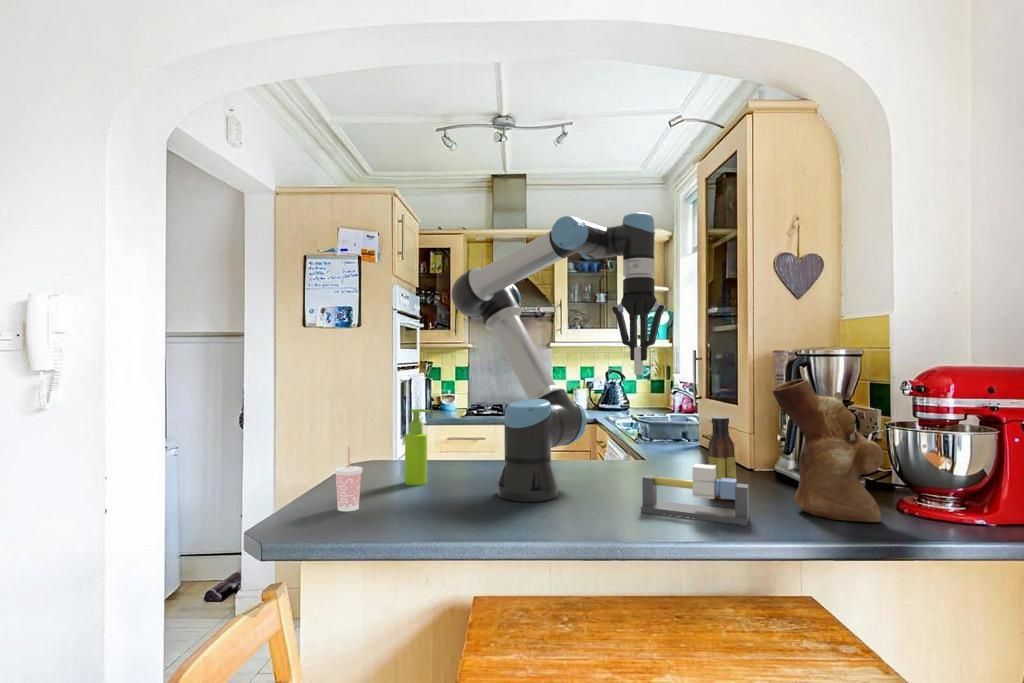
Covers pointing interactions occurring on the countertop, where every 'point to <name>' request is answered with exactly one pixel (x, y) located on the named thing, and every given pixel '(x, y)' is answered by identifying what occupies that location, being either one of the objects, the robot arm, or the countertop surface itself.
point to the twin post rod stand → (721, 488)
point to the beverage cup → (348, 486)
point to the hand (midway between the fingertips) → (638, 374)
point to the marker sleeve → (704, 480)
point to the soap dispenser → (416, 452)
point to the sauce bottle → (722, 451)
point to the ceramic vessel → (830, 455)
